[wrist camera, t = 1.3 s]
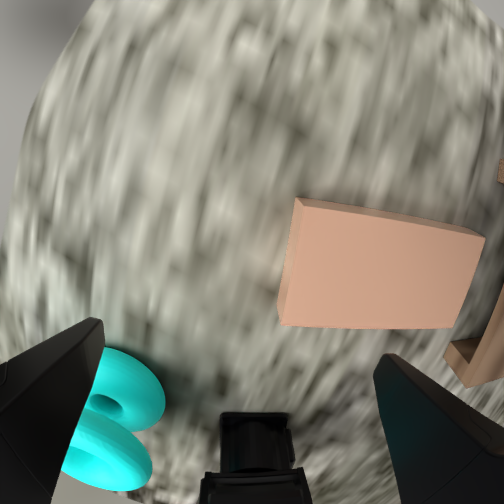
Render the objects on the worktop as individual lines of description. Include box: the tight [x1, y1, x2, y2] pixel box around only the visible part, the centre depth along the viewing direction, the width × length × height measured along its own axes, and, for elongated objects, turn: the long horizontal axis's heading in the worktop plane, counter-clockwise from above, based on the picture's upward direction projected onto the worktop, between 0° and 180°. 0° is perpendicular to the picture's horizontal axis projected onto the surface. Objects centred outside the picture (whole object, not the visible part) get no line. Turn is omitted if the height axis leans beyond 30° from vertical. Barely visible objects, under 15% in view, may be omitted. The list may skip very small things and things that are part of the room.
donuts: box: [61, 347, 166, 491], centre depth 20 cm, size 10×10×10 cm
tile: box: [277, 197, 486, 329], centre depth 21 cm, size 15×8×3 cm, turn 83°
